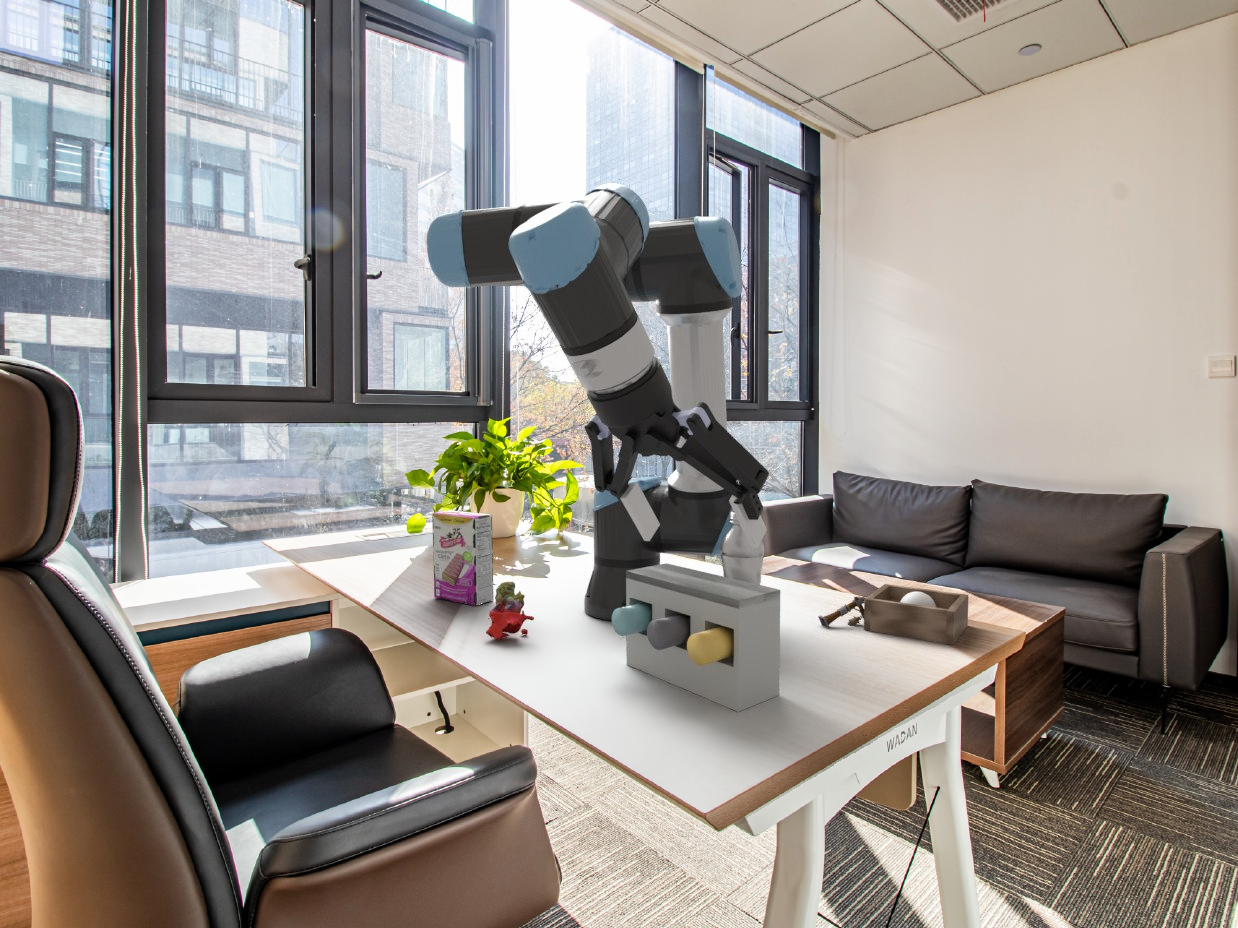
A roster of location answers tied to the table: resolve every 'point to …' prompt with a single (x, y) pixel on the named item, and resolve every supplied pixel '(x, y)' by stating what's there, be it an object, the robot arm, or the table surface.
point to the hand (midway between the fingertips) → (702, 535)
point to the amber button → (711, 645)
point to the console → (709, 607)
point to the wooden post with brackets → (844, 610)
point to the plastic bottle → (740, 555)
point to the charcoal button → (669, 631)
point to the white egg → (918, 599)
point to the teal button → (632, 618)
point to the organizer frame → (916, 614)
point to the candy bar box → (463, 556)
